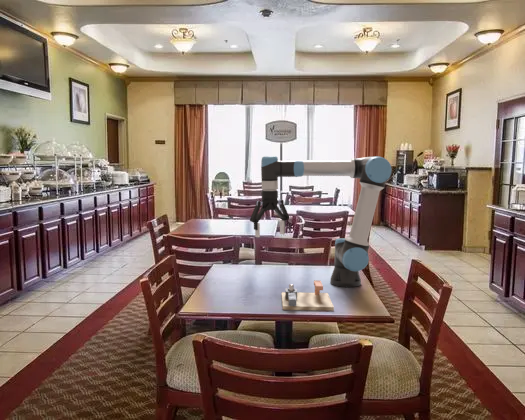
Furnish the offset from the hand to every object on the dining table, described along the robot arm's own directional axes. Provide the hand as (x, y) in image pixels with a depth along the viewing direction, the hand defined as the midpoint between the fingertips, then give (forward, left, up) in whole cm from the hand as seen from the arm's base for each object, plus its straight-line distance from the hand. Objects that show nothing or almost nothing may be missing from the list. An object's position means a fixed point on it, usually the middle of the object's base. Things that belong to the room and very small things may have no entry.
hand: (270, 235), depth 216 cm
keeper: (-22, +13, -25) cm, 35 cm away
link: (-10, +20, -25) cm, 33 cm away
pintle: (-10, +14, -25) cm, 30 cm away
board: (-16, +17, -26) cm, 35 cm away
